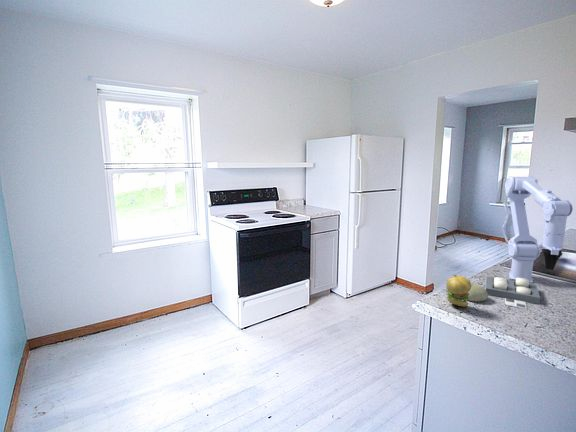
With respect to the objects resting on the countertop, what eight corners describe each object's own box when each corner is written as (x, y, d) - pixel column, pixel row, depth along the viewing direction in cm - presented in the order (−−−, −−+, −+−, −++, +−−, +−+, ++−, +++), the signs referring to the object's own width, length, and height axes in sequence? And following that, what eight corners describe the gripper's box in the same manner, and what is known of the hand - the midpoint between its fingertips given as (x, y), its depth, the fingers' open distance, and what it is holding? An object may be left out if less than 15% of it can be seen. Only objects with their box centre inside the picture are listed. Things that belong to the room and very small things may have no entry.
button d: (515, 293, 118) (516, 285, 117) (529, 295, 116) (530, 287, 115) (515, 297, 114) (516, 289, 114) (530, 299, 112) (531, 291, 112)
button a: (493, 283, 127) (494, 276, 127) (506, 285, 125) (506, 278, 125) (493, 286, 124) (494, 279, 123) (506, 289, 122) (507, 281, 121)
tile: (504, 298, 114) (504, 297, 114) (525, 302, 111) (525, 301, 111) (505, 305, 109) (505, 303, 109) (526, 309, 106) (526, 308, 106)
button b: (493, 286, 121) (494, 278, 121) (506, 288, 119) (507, 281, 119) (493, 289, 118) (494, 282, 118) (507, 292, 116) (507, 284, 115)
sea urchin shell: (495, 299, 110) (478, 283, 110) (476, 312, 112) (460, 296, 112) (484, 289, 118) (469, 274, 118) (466, 301, 120) (452, 287, 120)
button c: (514, 284, 123) (515, 276, 123) (528, 286, 121) (529, 278, 121) (515, 287, 120) (516, 280, 119) (529, 289, 118) (530, 282, 117)
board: (486, 281, 130) (487, 276, 130) (535, 289, 122) (535, 284, 121) (485, 294, 118) (486, 288, 118) (539, 304, 109) (540, 297, 109)
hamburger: (473, 307, 107) (476, 274, 105) (462, 313, 103) (465, 278, 101) (451, 299, 114) (454, 268, 112) (440, 304, 110) (442, 272, 108)
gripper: (537, 228, 122) (533, 262, 124) (542, 235, 110) (537, 272, 112) (561, 230, 118) (556, 265, 120) (568, 238, 106) (563, 276, 108)
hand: (549, 269), depth 116 cm, fingers closed
